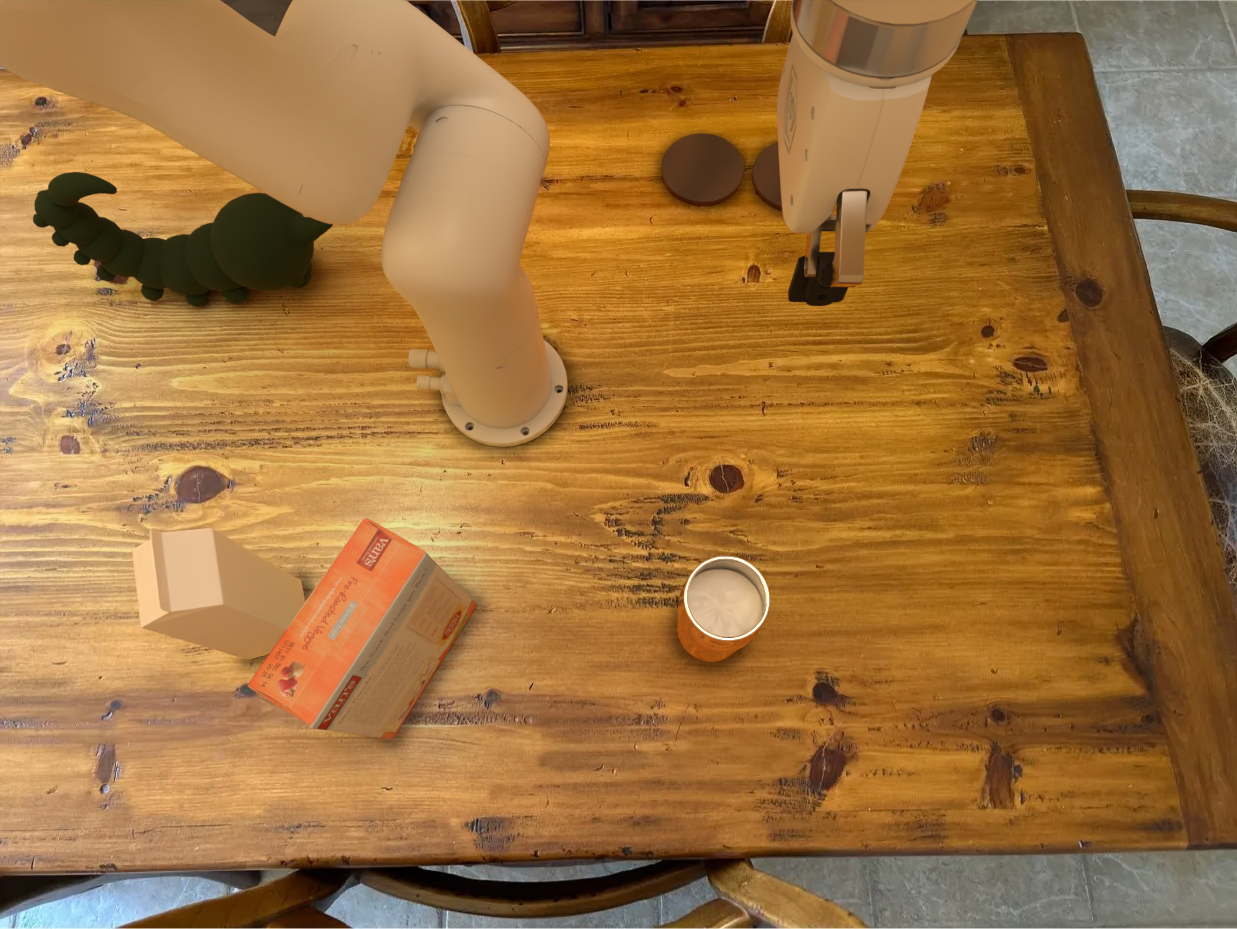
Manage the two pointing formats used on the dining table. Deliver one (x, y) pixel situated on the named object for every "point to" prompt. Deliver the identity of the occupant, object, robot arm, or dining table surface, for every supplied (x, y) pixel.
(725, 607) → the wood grain tumbler
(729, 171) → the coaster
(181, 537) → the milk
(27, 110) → the dining table surface
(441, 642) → the cracker box
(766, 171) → the coaster
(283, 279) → the toy figurine
